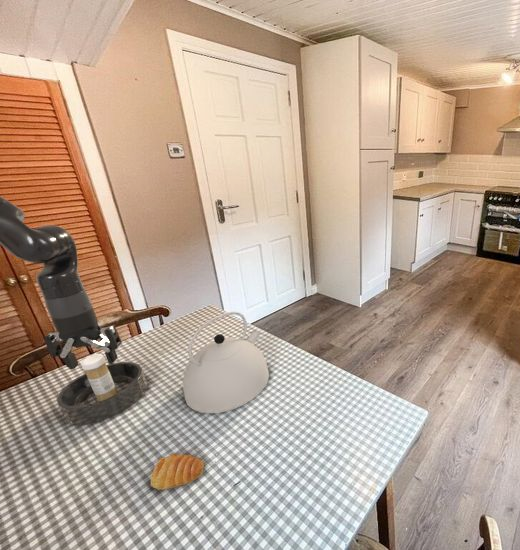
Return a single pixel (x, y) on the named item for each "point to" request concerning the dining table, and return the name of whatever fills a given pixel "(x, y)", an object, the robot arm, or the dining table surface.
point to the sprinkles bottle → (99, 376)
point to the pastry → (176, 471)
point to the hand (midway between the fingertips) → (93, 364)
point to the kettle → (224, 372)
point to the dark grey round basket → (109, 407)
